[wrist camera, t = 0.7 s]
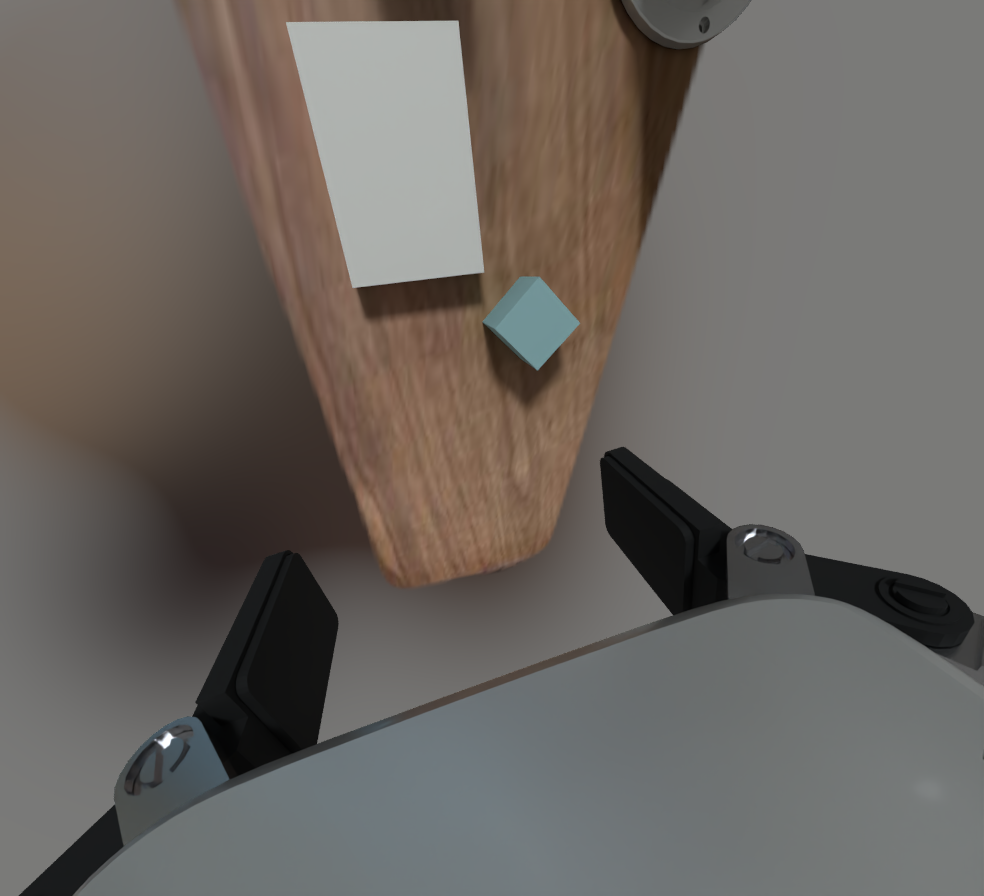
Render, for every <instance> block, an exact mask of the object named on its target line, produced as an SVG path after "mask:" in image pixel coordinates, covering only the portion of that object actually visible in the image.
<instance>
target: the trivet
mask: <svg viewBox="0 0 984 896" xmlns="http://www.w3.org/2000/svg"><path fill="white" fill-rule="evenodd" d="M286 24H287V28H288V32H289V36H290V40H291V44H292V48H293V52H294V56H295V60H296V64H297V68H298V72H299V76H300V80H301V84H302V88H303V92H304V96H305V100H306V104H307V108H308V112H309V116H310V120H311V124H312V128H313V132H314V136H315V140H316V144H317V148H318V152H319V156H320V160H321V164H322V168H323V172H324V176H325V180H326V184H327V188H328V192H329V196H330V200H331V204H332V208H333V212H334V216H335V220H336V224H337V228H338V231H339V235H340V239H341V243H342V247H343V251H344V255H345V259H346V263H347V267H348V271H349V275H350V279H351V283H352V287H353V288H357V287H365V286H373V285H382V284H390V283H399V282H407V281H416V280H424V279H433V278H441V277H449V276H458V275H466V274H475V273H483V272H484V266H483V256H482V247H481V237H480V227H479V217H478V208H477V198H476V188H475V179H474V169H473V159H472V149H471V140H470V130H469V120H468V110H467V101H466V91H465V81H464V71H463V62H462V52H461V42H460V33H459V23H458V21H371V22H286Z"/></svg>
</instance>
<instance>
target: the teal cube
mask: <svg viewBox="0 0 984 896" xmlns="http://www.w3.org/2000/svg"><path fill="white" fill-rule="evenodd" d="M483 323H484V324H485V325H486V326H487V327H488V328H489V329H490V330H491V331H492V332H493V333H494V334H495V335H496V336H497V337H498V338H499V339H501V340H502V341H503V342H504V343H505V344H506V345H507V346H508V347H509V348H510V349H511V350H512V351H513V352H514V353H515V354H516V355H517V356H518V357H519V358H520V359H522V360H523V361H525V362H526V363H527V364H529V365H530V366H532V367H533V368H535V369H536V370H539V368H540V367H541V366H542V365H543V364H544V363H545V362H546V361H547V359H548V358H549V357H550V356H551V355H552V354H553V353H554V352H555V351H556V349H557V348H558V347H559V346H560V345H561V344H562V343H563V342H564V341H565V339H566V338H567V337H568V336H569V335H570V334H571V333H572V332H573V331H574V329H575V328H576V327H577V326H578V325H579V324H580V323H579V321H578V320H577V319H576V318H575V317H574V316H573V315H572V313H571V312H570V311H569V310H568V309H567V308H566V307H565V305H564V304H563V303H562V302H561V301H560V300H559V299H558V297H557V296H556V295H555V294H554V293H553V292H552V291H551V289H550V288H549V287H548V286H547V285H546V284H545V283H544V281H543V280H542V279H541V278H540V277H520V278H519V279H518V280H517V281H516V282H515V284H514V285H513V286H512V287H511V288H510V290H509V291H508V292H507V293H506V294H505V296H504V297H503V298H502V299H501V300H500V302H499V303H498V304H497V305H496V306H495V308H494V309H493V310H492V311H491V312H490V313H489V315H488V316H487V317H486V318H485V319H484V321H483Z"/></svg>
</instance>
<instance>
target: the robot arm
mask: <svg viewBox="0 0 984 896" xmlns="http://www.w3.org/2000/svg"><path fill="white" fill-rule="evenodd" d="M621 1H622V3H623V5H624V7H625V9H626V11H627V13H628V15H629V16H630V17H631V19H632V20H633V22H634V23H635V24H636V26H637V27H638V29H640V30H641V31H642V32H643V33H644V34H645V35H646V36H647V37H648V38H649V39H650V40H652V41H654V42H656V43H658V44H660V45H662V46H664V47H669V48H674V49H687V48H693V47H696V46H699V45H701V44H704V43H706V42H708V41H709V40H711V39H712V38H714V37H715V36H717V35H718V34H719V33H721V32H722V31H723V30H724V29H726V28H727V27H728V26H729V25H730V24H732V23H733V22H734V21H735V20H736V19H737V18H738V17H739V15H740V14H741V13H742V12H743V11H744V10H745V8H746V7H747V6H748V4H749V3H750V1H751V0H621ZM600 467H601V479H602V490H603V502H604V512H605V524H606V528H607V531H608V533H609V534H610V536H611V537H612V539H613V540H614V541H615V542H616V544H617V545H618V546H619V547H620V549H621V550H622V551H623V553H624V554H625V555H626V556H627V558H628V559H629V560H630V561H631V562H632V564H633V565H634V566H635V568H636V569H637V570H638V571H639V573H640V574H641V575H642V577H643V578H644V579H645V580H646V581H647V583H648V584H649V585H650V587H651V588H652V589H653V590H654V592H655V593H656V594H657V595H658V597H659V598H660V599H661V600H662V602H663V603H664V604H665V605H666V607H667V608H668V609H669V610H670V612H671V613H672V614H673V616H670V617H667V618H664V619H661V620H658V621H656V622H652V623H650V624H647V625H643V626H640V627H637V628H635V629H632V630H629V631H626V632H624V633H621V634H618V635H615V636H612V637H609V638H606V639H604V640H601V641H599V642H595V643H592V644H590V645H587V646H584V647H582V648H578V649H576V650H573V651H570V652H567V653H564V654H562V655H559V656H556V657H553V658H550V659H548V660H545V661H542V662H539V663H537V664H534V665H531V666H528V667H526V668H523V669H520V670H517V671H514V672H512V673H509V674H506V675H503V676H501V677H498V678H495V679H492V680H490V681H487V682H484V683H481V684H479V685H476V686H473V687H470V688H468V689H465V690H462V691H459V692H457V693H454V694H451V695H448V696H446V697H443V698H440V699H437V700H435V701H432V702H429V703H426V704H424V705H421V706H418V707H416V708H413V709H410V710H407V711H405V712H402V713H399V714H397V715H394V716H391V717H388V718H386V719H383V720H380V721H378V722H375V723H372V724H370V725H367V726H364V727H361V728H359V729H356V730H354V731H350V732H348V733H345V734H343V735H340V736H337V737H334V738H332V739H329V740H326V741H324V742H321V743H319V744H317V740H318V735H319V729H320V724H321V718H322V713H323V708H324V702H325V697H326V691H327V686H328V680H329V675H330V669H331V663H332V658H333V653H334V647H335V642H336V636H337V631H338V617H337V614H336V612H335V610H334V609H333V607H332V606H331V604H330V602H329V601H328V599H327V598H326V596H325V594H324V593H323V591H322V589H321V588H320V586H319V585H318V583H317V582H316V580H315V578H314V577H313V575H312V573H311V572H310V570H309V568H308V567H307V565H306V564H305V562H304V560H303V559H302V557H301V556H300V555H299V554H298V553H294V554H293V553H292V552H291V551H289V550H287V551H283V552H280V553H277V554H274V555H271V556H268V557H266V558H265V560H264V561H263V563H262V566H261V568H260V570H259V572H258V574H257V576H256V578H255V580H254V582H253V584H252V586H251V588H250V591H249V593H248V595H247V597H246V599H245V601H244V603H243V605H242V607H241V609H240V611H239V613H238V615H237V617H236V619H235V621H234V624H233V626H232V628H231V630H230V632H229V634H228V636H227V638H226V640H225V642H224V644H223V646H222V648H221V650H220V653H219V655H218V657H217V659H216V661H215V663H214V665H213V667H212V669H211V671H210V673H209V676H208V678H207V679H206V682H205V684H204V686H203V688H202V690H201V692H200V694H199V696H198V698H197V700H196V704H198V706H197V708H196V710H195V712H194V714H193V716H192V717H189V716H187V717H184V718H180V719H177V720H175V721H173V722H171V723H169V724H167V725H165V726H164V727H163V728H161V729H160V730H159V731H158V732H156V733H155V734H153V735H152V736H151V737H150V738H149V739H148V740H147V741H146V742H144V743H143V744H142V745H141V746H140V747H139V748H138V750H137V751H136V752H135V754H134V755H133V756H132V757H131V758H130V759H129V761H128V763H127V764H126V765H125V767H124V769H123V770H122V772H121V773H120V775H119V778H118V780H117V783H116V786H115V789H114V802H115V805H114V806H113V807H112V808H111V809H110V810H109V811H107V813H106V814H105V815H103V816H102V817H101V818H100V819H99V820H98V821H97V822H96V823H95V824H94V825H93V826H92V827H91V828H90V829H89V830H87V831H86V832H85V833H84V834H83V835H82V836H81V837H80V838H79V839H78V840H77V841H76V842H75V843H74V844H73V845H72V846H71V847H70V848H68V849H67V850H66V851H65V852H64V853H63V854H62V855H61V856H60V857H59V858H58V859H57V860H56V861H55V862H54V863H53V864H52V865H51V866H50V867H48V868H47V869H46V870H45V871H44V872H43V873H42V874H41V875H40V876H39V877H38V878H37V879H36V880H35V881H34V882H33V883H32V884H31V885H29V887H28V888H26V889H25V890H24V891H23V892H22V893H21V894H20V895H19V896H984V616H981V615H979V614H976V613H973V612H972V611H971V610H970V609H969V607H968V606H967V604H966V603H965V602H963V601H962V600H961V599H960V598H959V597H957V596H956V595H955V594H954V593H952V592H950V591H948V590H947V589H945V588H943V587H942V586H940V585H937V584H935V583H933V582H930V581H928V580H925V579H923V578H919V577H916V576H912V575H908V574H903V573H898V572H893V571H888V570H883V569H878V568H873V567H868V566H862V565H857V564H852V563H847V562H842V561H837V560H832V559H827V558H822V557H817V556H812V555H807V554H805V553H804V550H803V548H802V547H801V545H800V543H799V542H798V541H796V540H795V539H794V538H793V537H792V536H790V535H788V534H786V533H785V532H783V531H781V530H778V529H776V528H773V527H769V526H764V525H753V524H749V525H743V526H739V527H736V528H734V529H731V528H730V527H728V526H727V525H726V524H725V523H723V522H722V521H721V520H720V519H718V518H717V517H716V516H714V515H713V514H712V513H710V512H709V511H708V510H707V509H705V508H704V507H703V506H701V505H700V504H699V503H698V502H696V501H695V500H694V499H692V498H691V497H690V496H688V495H687V494H686V493H685V492H683V491H682V490H681V489H680V488H678V487H677V486H675V485H674V484H673V483H672V482H670V481H669V480H667V479H665V478H664V477H662V476H661V475H660V474H659V473H657V472H656V471H655V470H653V469H652V468H651V467H649V466H648V465H647V464H646V463H644V462H643V461H642V460H641V459H639V458H638V457H637V456H636V455H634V454H633V453H632V452H630V451H629V450H628V449H626V448H625V447H620V448H617V449H614V450H611V451H607V452H606V453H605V455H604V458H601V460H600Z"/></svg>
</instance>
